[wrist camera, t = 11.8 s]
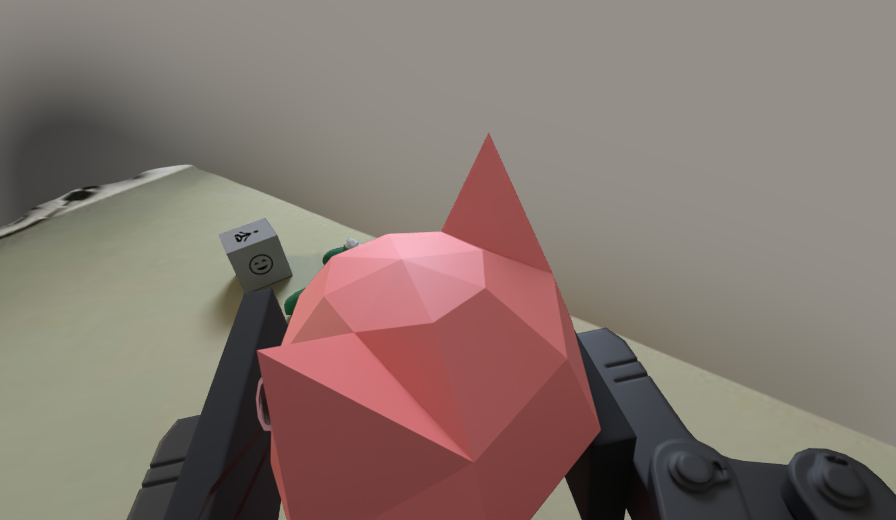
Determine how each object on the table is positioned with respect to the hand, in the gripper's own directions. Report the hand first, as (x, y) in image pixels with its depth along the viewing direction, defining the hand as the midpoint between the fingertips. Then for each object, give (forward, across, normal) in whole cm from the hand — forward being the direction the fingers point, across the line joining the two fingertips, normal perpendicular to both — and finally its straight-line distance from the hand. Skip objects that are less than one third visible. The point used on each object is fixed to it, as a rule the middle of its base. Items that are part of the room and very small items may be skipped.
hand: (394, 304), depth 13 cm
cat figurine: (-5, 0, -7) cm, 8 cm away
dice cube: (+34, -16, -18) cm, 41 cm away
